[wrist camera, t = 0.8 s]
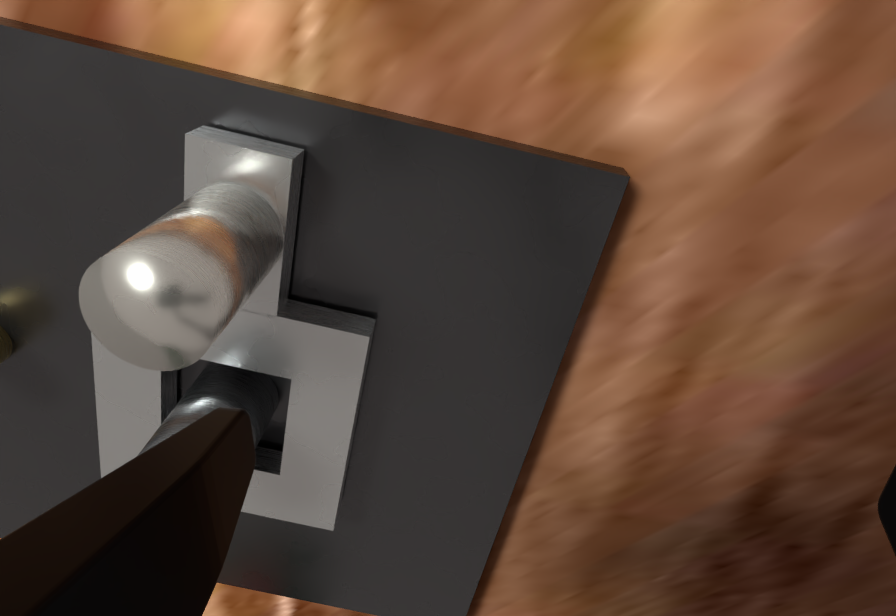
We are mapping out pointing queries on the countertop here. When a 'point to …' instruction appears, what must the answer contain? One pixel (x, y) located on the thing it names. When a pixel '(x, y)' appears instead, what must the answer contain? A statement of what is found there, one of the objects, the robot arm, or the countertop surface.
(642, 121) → the countertop surface
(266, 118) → the post base
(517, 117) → the countertop surface
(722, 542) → the countertop surface
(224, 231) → the metal knob latch
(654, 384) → the countertop surface
